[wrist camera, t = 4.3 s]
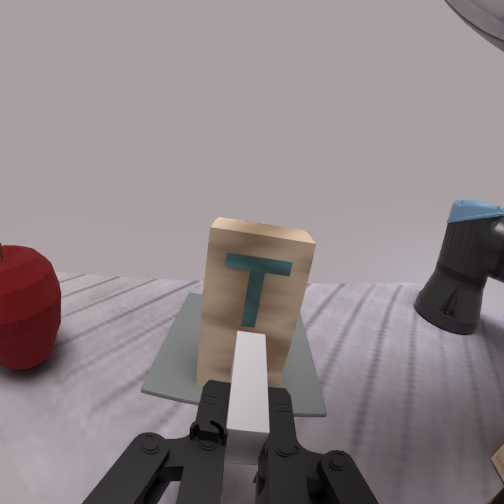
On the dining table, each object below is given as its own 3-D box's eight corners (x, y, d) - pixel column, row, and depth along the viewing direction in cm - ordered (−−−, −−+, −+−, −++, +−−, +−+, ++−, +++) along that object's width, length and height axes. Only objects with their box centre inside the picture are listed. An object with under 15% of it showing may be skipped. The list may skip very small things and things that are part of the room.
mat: (298, 311, 39) (298, 308, 39) (325, 416, 20) (326, 413, 20) (189, 294, 39) (189, 292, 39) (141, 391, 20) (140, 388, 20)
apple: (91, 350, 23) (79, 237, 20) (27, 414, 13) (-23, 280, 9) (28, 317, 24) (15, 221, 20) (-31, 357, 14) (-62, 246, 10)
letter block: (273, 368, 26) (305, 231, 22) (275, 396, 22) (316, 244, 18) (203, 358, 26) (218, 216, 22) (196, 385, 22) (210, 227, 18)
